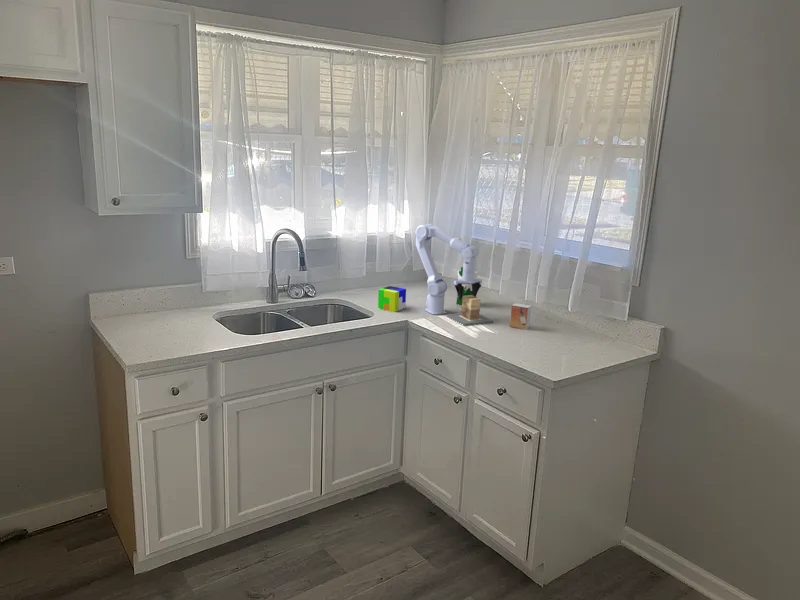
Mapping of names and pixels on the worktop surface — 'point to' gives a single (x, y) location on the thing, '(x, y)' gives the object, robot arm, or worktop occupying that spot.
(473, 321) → the board
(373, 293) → the worktop surface
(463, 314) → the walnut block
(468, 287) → the milk carton
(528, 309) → the small box
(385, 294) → the puzzle toy
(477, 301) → the oak block
